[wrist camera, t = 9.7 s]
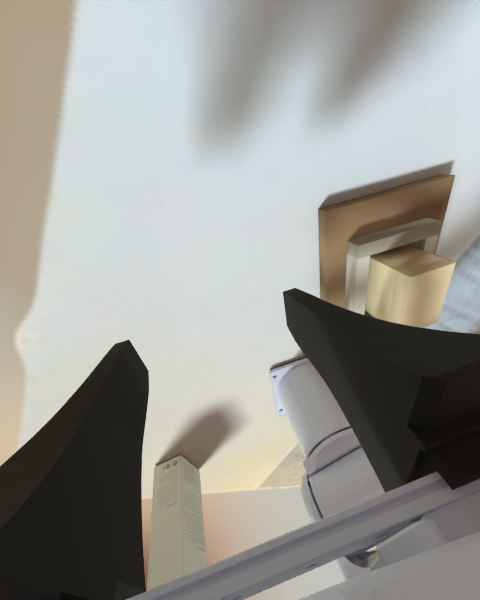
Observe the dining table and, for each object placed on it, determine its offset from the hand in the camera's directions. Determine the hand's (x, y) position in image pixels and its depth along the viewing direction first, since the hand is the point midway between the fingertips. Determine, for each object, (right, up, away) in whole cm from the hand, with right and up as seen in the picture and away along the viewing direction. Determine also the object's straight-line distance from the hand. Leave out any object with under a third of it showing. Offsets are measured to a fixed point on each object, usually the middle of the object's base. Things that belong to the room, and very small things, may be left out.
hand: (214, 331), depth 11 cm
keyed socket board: (+15, +4, +14) cm, 21 cm away
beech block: (+15, +4, +13) cm, 21 cm away
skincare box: (-8, -23, +24) cm, 34 cm away
